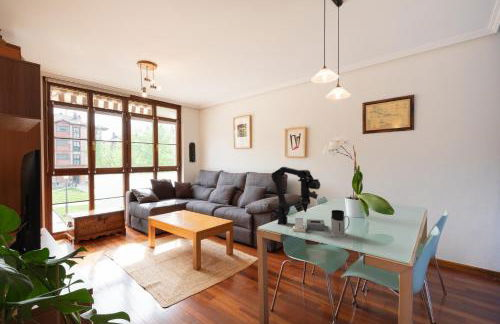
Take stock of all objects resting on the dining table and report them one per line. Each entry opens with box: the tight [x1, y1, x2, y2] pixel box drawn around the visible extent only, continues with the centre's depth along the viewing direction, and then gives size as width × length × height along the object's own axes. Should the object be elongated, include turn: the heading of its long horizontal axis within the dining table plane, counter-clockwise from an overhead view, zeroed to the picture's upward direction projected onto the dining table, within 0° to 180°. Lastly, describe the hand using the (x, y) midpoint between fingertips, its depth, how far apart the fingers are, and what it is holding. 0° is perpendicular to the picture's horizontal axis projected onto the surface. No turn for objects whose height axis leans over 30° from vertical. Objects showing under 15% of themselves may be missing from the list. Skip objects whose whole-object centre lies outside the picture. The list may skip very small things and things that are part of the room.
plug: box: [294, 216, 304, 229], centre depth 161 cm, size 5×4×9 cm
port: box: [306, 218, 326, 231], centre depth 166 cm, size 12×12×5 cm
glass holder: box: [330, 209, 351, 238], centre depth 148 cm, size 9×14×15 cm, turn 20°
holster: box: [292, 225, 306, 233], centre depth 161 cm, size 8×7×2 cm
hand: (305, 210), depth 163 cm, fingers open, 9 cm apart
